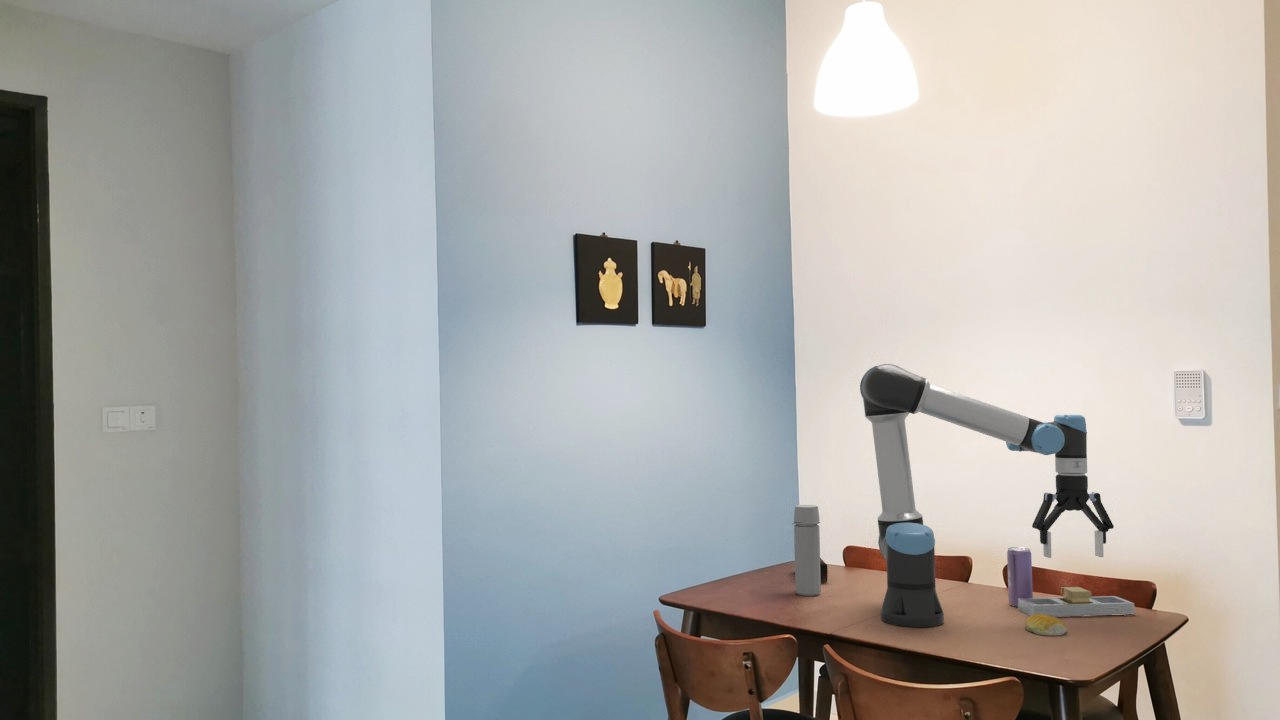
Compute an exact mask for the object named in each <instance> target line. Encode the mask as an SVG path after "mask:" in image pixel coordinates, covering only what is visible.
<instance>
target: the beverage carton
mask: <svg viewBox="0 0 1280 720" xmlns="http://www.w3.org/2000/svg"><path fill="white" fill-rule="evenodd" d="M828 574H829V573H828V564H827V563H826V562H825V560H823V558H822V557H820V576H821V583H827V584H828Z"/></svg>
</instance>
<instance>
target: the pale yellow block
mask: <svg viewBox="0 0 1280 720" xmlns="http://www.w3.org/2000/svg"><path fill="white" fill-rule="evenodd" d="M1060 594H1062V597H1063V601H1064V602H1066V603H1069V604H1084V603H1090V601H1089V598H1092V597H1093V596H1092V591H1091V590H1087V589H1085V588H1082V587H1080V586H1064V587H1063V586H1061V587H1060Z"/></svg>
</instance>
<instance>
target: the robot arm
mask: <svg viewBox="0 0 1280 720" xmlns="http://www.w3.org/2000/svg"><path fill="white" fill-rule="evenodd" d="M859 390H860V391H859V392H860V395H861V397H862V401H863V402H862V403H863V408H864V409H863V411H864V417H865V418H866V419H867V420H868V421H869V422H871V427H872V428H871V429H872V434H873V442H874V443H873V444H874V451H875V452H874V453H875V459H876V469H877V476H878V477H877V478H878V484H879V493H880V502H881V509H882V511H881V513H880V514H879V515H878V517H877V525H878V526H877V527H878V541H877V542H878V547H879V552H880V553H881V555H882V557H883V559H885V560H886V583H887V586H886V587H887V588H886V591H885V595H884V598H883V600H882V605H881V609H880V619H881V621H882V622H885V623H887V624H891V625H894V626H901V627H908V628H909V627H910V628H911V627H912V628H913V627H914V628H927V627H928V628H929V627H936V626H940V625H942V624H944V622H945V616H944V615H945V614H944V609H943V607H942V604H941V602H940V599H939V596H938V593H937V588H936V587H937V586H936V560H935V559H936V558H935V557H936V556H935V555H936V553H935V545H936V539H935V536H934V534H935V533H934V531H933V529H932V528H931V527H929V526H928V525H926V524H924V518H923V514H921V513H920V512H919V511H918V510H917V509H916V502H915V494H914V487H913V478H912V470H911V461H910V453H909V446H908V445H909V444H908V437H907V429H906V421H905V420H906V419H907V417H908V416H909V415H910V414H912V415H915V414H919V413H920V414H924V415H928V416H929V417H932V418H936V419H939V420H942V421H945V422H948V423H951V424H953V425H957V426H959V427H962V428H966V429H968V430H972V431H974V432H977V433H979V434H982V435H986V436H989V437H992V438H994V439H997V440H1001V441H1003V442H1005V444H1006V446H1007V447H1006V448H1007V449H1008V450H1009V451H1013V452H1015V451H1016V452H1018V453H1019V452H1031V453H1036V454H1041V455H1043V456H1050V455H1054V461H1055V462H1054V465H1055V468H1054V469H1055V473H1057V474H1056V475H1055V489H1056V492H1055V493H1051V492H1044V493H1043V499H1042V500H1043V501H1042V502H1041V504H1040V505H1041V506H1040V507H1039V509H1038V512H1037V514H1036V516H1035V519H1034V520H1033V523H1032V524H1031V525H1032V526H1031V527H1032V529H1036V530H1038V531H1039V542H1040V544H1041V545H1042V547H1043V557H1046V558H1047V559H1051V558H1052V557H1053V556H1052V532H1051V531H1049V530H1050V529H1051V527H1052V526H1053V525H1054V523H1055V522H1056V521H1057V520H1058V519H1059V517H1060V516H1062V513H1064V512H1065V511H1071V512H1072V511H1077V512H1078V511H1082V512H1083V514H1084V515H1085V516H1086V517H1087V518H1088V519H1089V521H1090V522H1091V523H1092V524H1093V526H1094V527H1095V528H1096V529H1097V530H1096V529H1095V530H1094V556H1095V557H1098V558H1104V544H1107V532H1109V530H1112V529H1114V527H1115V526H1114V524H1113V521H1112V520H1111V518H1110V516H1109V514H1108V511H1106V509H1105V506H1104V505H1103V503H1102V499H1101V494H1100V493H1099V492H1095V491H1092V492H1091V493H1088V489H1089V487H1088V486H1089V484H1088V483H1089V480H1088V478H1089V477H1088V476H1087V473H1088V456H1087V455H1088V453H1087V451H1088V450H1087V449H1088V448H1087V440H1088V439H1087V436H1088V435H1087V434H1088V431H1087V422H1086V421H1087V420H1086V418H1085V416H1084V415H1081V414H1056V415H1055V416H1054V419H1053V421H1051V422H1043V421H1040V420H1038V419H1035V418H1030V417H1028V416H1026V415H1022V414H1020V413H1017V412H1013V411H1011V410H1007V409H1005V408H1002V407H999V406H996V405H993V404H990V403H987V402H985V401H981V400H979V399H976V398H972V397H970V396H966V395H963V394H960V393H957V392H954V391H952V390H948V389H946V388H943V387H941V386H937V385H934V384H932V383H930V382H929V380H928V378H926V377H923V376H920V375H918V374H915V373H913V372H910V371H908V370H906V369H905V368H902V367H900V366H898V365H895V364H892V363H883V364H879V365H875V366H873V367H870V368H869V369H868V370H867V371H866V372H865V373H864V375H863V376H862V378H861V380H860V385H859ZM1054 501H1056V502H1057V503H1056V504H1055V505H1054V507H1053V509H1052V511H1050V509H1051V507H1052V504H1053V503H1054ZM1088 501H1090V502H1092V505H1093V507H1094V509H1095V511H1096V514H1097V515H1098V516H1097V515H1096V514H1095V512H1093V510H1092V508H1091V507H1090V506H1089V505H1088V503H1087V502H1088ZM1049 511H1050V512H1049ZM1048 513H1049V514H1048Z"/></svg>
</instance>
